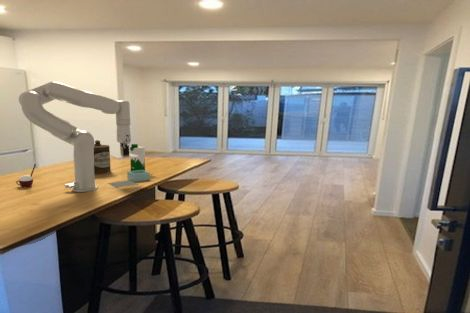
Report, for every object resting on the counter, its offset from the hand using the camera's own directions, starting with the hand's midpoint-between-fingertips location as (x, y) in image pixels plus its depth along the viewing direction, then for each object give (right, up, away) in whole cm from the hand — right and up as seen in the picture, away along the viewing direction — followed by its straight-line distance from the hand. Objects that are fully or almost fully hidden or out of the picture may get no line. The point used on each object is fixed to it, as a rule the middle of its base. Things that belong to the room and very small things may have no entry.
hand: (125, 154), depth 172 cm
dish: (+4, -16, +13) cm, 21 cm away
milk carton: (-3, -13, +33) cm, 35 cm away
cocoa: (-51, -18, -8) cm, 55 cm away
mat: (-1, -18, +1) cm, 18 cm away
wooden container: (-30, -12, +33) cm, 46 cm away
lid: (0, -2, 0) cm, 2 cm away
